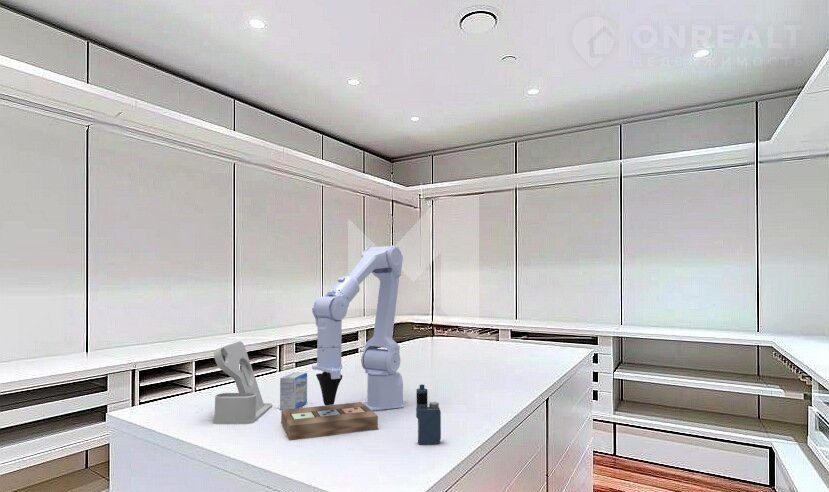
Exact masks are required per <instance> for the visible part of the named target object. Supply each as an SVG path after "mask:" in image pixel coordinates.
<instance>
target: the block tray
mask: <svg viewBox="0 0 829 492" xmlns="http://www.w3.org/2000/svg"><path fill="white" fill-rule="evenodd" d="M355 407H360V408H361V409H363V410H364V411H365V412H360V413H351V414H345V413H344V412H343V411H342V410H341V409H345V408H355ZM326 410H337V411H338V412H339V413H340V415H332V416H323V417H319V415H318V414H317V411H326ZM307 412H311V413H312V414H313V415H314V418H305V419H295V420H293V419H292V417H291V414H297V413H307ZM280 413H281V414H280V415H281V416H280V417H281V418H280V420H281V421H280V424H281V425H282V428H283V429H284V431H285V434H286V436H287V438H288V441H292V440H302V439H310V438H318V437H326V436H333V435H341V434H343V435H344V434H349V433H358V432H359V433H360V432H367V431H373V430H374V431H375V430H378V429H379V416H378V414H376V413H375V412H374V411H371V410H370V409H369V408H368V407H367V406H365V405H364V404H363V402H362V401H357V402H356V401H355V402H348V403H336V404H335V403H334V404H333V405H325V404H324V405H317V406H316V405H315V406H307V407H300V408H295V409H285V410H281V412H280Z"/></svg>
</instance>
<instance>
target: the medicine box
mask: <svg viewBox="0 0 829 492" xmlns="http://www.w3.org/2000/svg"><path fill="white" fill-rule="evenodd" d="M307 403H308V372H302V371H301V372H300V371H299V372H298V371H296V372H292V373H289V374H286V375H284V376H282V377H280V382H279V409H280V410H285V409H295V408H303V406H305V405H307Z"/></svg>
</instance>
